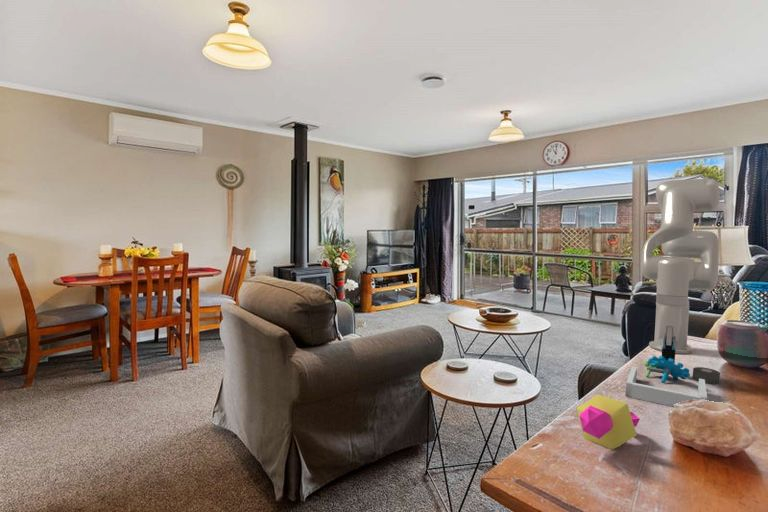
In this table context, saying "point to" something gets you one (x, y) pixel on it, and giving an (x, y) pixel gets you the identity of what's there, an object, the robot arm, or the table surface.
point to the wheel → (706, 375)
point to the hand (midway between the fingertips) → (668, 361)
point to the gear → (666, 368)
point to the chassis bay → (660, 391)
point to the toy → (607, 421)
